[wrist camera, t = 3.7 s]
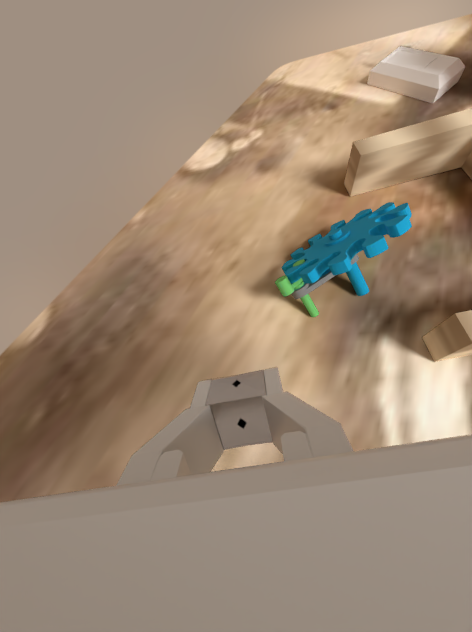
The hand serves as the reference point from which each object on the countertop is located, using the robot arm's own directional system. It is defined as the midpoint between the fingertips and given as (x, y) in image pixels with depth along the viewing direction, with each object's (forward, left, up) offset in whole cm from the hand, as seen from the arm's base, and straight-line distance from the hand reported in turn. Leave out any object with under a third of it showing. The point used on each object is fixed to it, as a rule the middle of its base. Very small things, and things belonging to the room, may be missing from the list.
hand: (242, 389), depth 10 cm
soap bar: (+26, +35, -12) cm, 46 cm away
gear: (+8, +11, -12) cm, 18 cm away
